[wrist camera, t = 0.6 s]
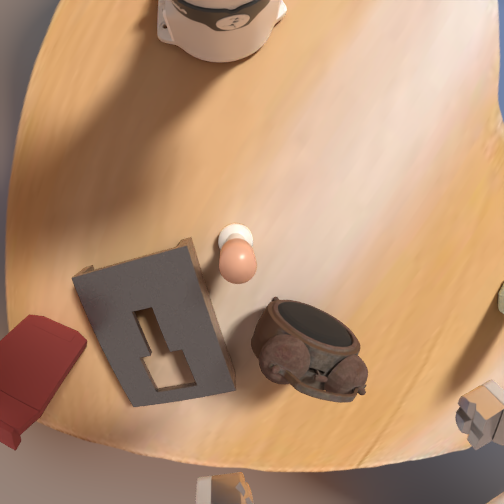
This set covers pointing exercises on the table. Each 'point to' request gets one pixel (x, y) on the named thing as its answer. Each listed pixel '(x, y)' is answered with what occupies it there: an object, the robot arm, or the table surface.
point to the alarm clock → (309, 351)
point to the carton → (33, 371)
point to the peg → (236, 254)
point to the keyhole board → (169, 319)
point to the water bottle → (501, 299)
